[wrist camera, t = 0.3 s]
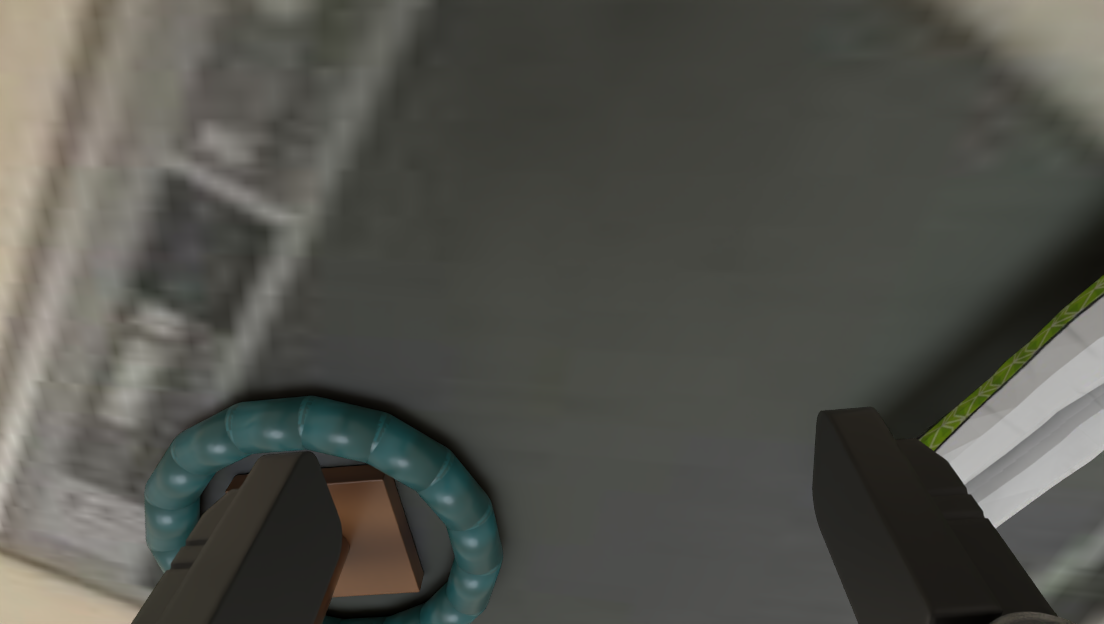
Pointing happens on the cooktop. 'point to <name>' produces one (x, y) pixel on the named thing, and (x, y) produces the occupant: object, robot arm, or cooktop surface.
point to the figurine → (1031, 414)
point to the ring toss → (367, 536)
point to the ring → (348, 437)
